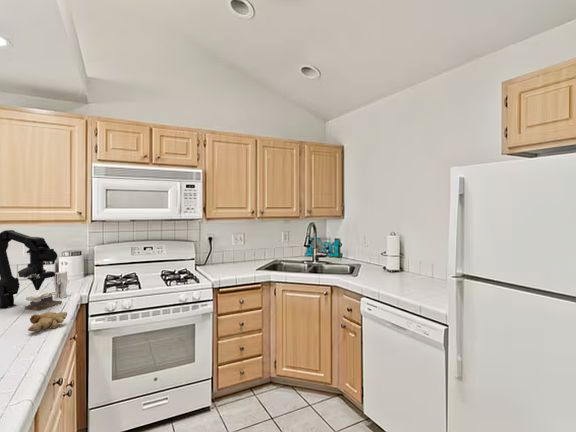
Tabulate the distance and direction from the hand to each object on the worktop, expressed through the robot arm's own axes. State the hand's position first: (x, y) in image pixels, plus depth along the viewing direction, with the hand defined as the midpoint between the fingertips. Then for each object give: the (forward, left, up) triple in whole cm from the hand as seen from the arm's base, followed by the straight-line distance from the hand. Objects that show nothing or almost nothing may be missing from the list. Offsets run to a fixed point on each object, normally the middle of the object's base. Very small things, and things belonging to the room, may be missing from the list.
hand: (37, 290), depth 177 cm
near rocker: (-3, 0, -5) cm, 6 cm away
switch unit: (-1, +5, -10) cm, 11 cm away
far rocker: (-3, +9, -5) cm, 11 cm away
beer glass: (-9, +22, -10) cm, 26 cm away
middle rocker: (-3, +5, -5) cm, 7 cm away
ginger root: (+30, -20, -11) cm, 38 cm away
